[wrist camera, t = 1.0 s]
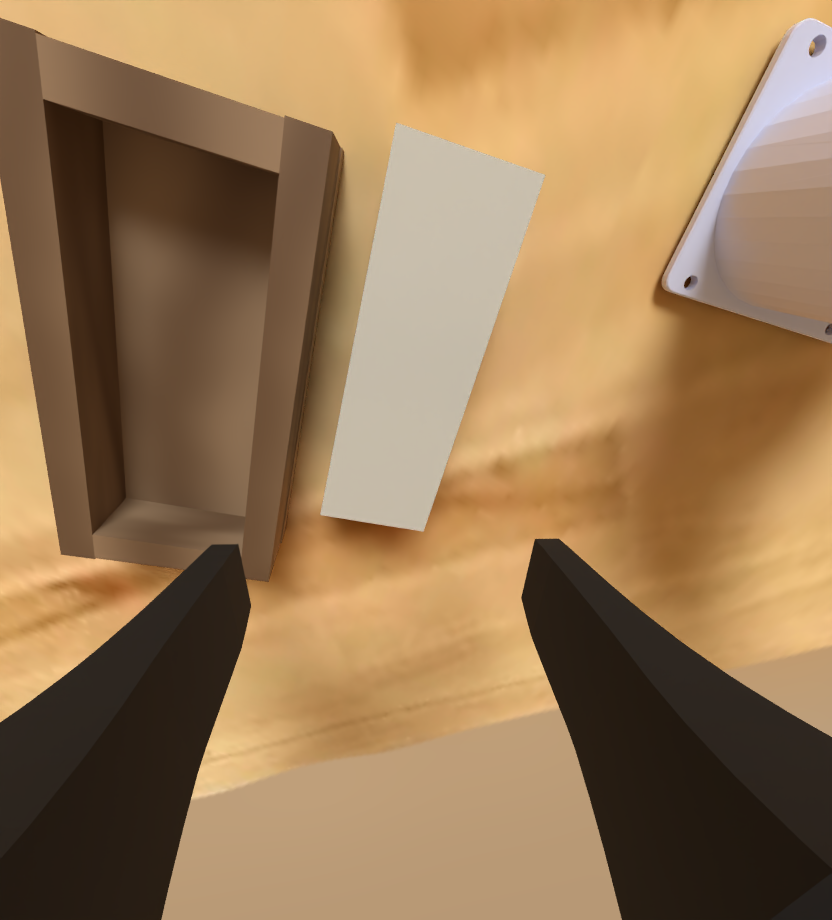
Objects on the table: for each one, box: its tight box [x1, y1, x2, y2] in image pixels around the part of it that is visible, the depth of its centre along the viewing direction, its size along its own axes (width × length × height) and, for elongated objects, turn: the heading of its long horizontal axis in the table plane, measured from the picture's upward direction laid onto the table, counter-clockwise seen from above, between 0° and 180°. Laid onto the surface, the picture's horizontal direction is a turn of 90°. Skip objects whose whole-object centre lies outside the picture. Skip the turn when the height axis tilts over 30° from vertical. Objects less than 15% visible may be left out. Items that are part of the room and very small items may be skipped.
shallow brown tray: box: [0, 18, 344, 582], centre depth 15 cm, size 8×16×4 cm, turn 165°
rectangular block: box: [320, 123, 545, 531], centre depth 15 cm, size 4×12×4 cm, turn 165°
